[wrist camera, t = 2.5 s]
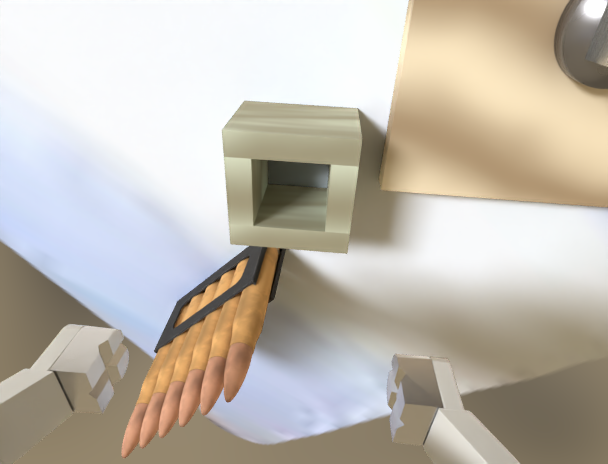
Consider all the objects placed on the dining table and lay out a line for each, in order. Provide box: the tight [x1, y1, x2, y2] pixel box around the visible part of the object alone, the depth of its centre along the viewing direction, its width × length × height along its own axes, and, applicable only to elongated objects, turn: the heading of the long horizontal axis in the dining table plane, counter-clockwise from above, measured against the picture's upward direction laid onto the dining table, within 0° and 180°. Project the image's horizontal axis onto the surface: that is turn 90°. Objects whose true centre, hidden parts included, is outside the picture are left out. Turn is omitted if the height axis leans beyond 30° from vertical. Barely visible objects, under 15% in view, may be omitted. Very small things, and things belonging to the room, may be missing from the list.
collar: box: [222, 101, 362, 254], centre depth 21 cm, size 6×6×5 cm
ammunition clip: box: [122, 246, 286, 458], centre depth 24 cm, size 11×2×12 cm, turn 133°
